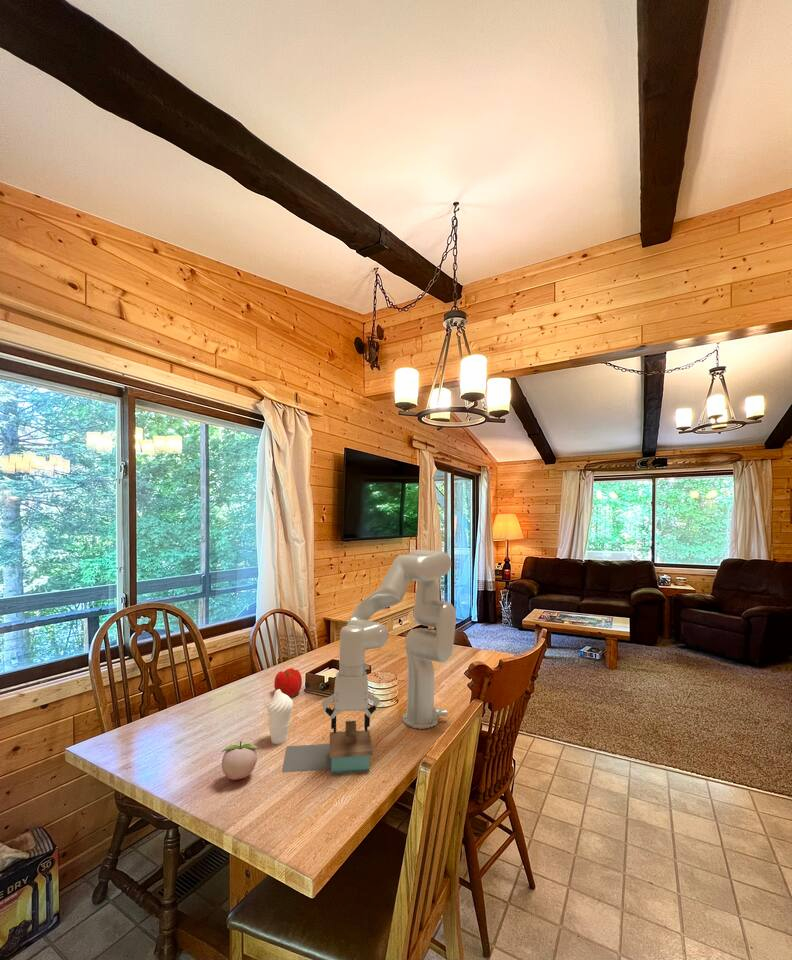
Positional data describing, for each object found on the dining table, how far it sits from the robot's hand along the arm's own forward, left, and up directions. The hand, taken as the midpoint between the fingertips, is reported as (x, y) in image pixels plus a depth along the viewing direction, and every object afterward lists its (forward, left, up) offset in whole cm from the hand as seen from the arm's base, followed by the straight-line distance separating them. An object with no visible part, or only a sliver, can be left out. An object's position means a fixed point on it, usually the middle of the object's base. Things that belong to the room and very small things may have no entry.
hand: (350, 729), depth 128 cm
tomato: (+23, -53, -10) cm, 59 cm away
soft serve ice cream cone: (+22, -15, -10) cm, 28 cm away
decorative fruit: (+30, +5, -10) cm, 32 cm away
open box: (0, 0, -9) cm, 9 cm away
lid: (0, 0, -4) cm, 4 cm away
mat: (+12, -4, -9) cm, 16 cm away
